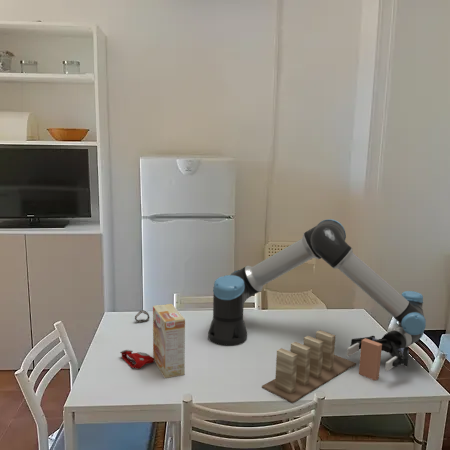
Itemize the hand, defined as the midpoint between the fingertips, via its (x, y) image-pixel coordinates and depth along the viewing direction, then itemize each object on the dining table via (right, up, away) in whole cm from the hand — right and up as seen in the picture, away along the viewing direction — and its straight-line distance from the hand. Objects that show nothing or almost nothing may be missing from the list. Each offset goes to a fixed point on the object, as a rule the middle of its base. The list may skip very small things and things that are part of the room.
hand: (366, 359), depth 152 cm
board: (-17, -6, +3) cm, 19 cm away
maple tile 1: (-12, -5, +7) cm, 15 cm away
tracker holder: (-76, -4, +9) cm, 77 cm away
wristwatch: (-81, +3, +44) cm, 92 cm away
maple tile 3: (-22, -6, -2) cm, 23 cm away
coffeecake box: (-65, -4, +6) cm, 66 cm away
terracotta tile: (+2, -6, +3) cm, 7 cm away
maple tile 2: (-17, -5, +2) cm, 18 cm away
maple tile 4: (-27, -7, -7) cm, 29 cm away
